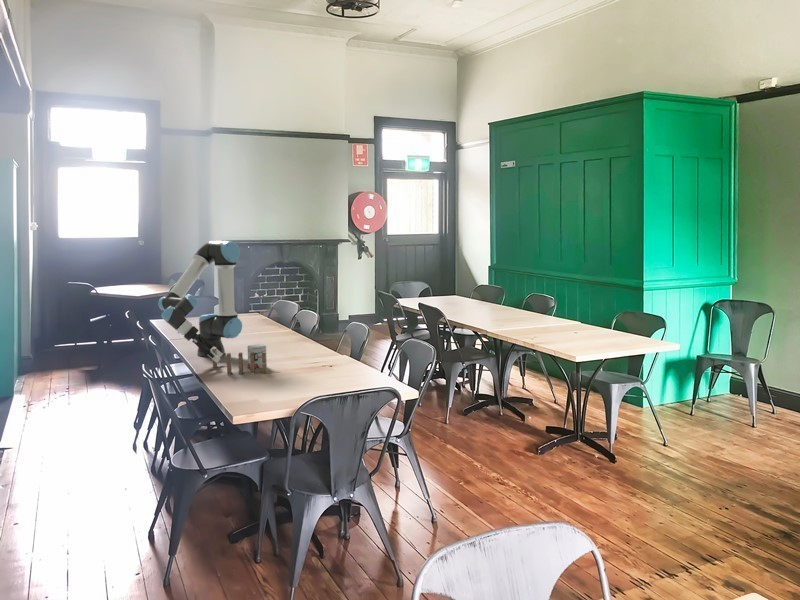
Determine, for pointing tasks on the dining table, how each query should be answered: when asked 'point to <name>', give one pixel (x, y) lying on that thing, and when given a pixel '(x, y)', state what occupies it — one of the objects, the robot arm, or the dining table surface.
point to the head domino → (215, 354)
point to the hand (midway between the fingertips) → (219, 358)
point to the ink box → (256, 355)
